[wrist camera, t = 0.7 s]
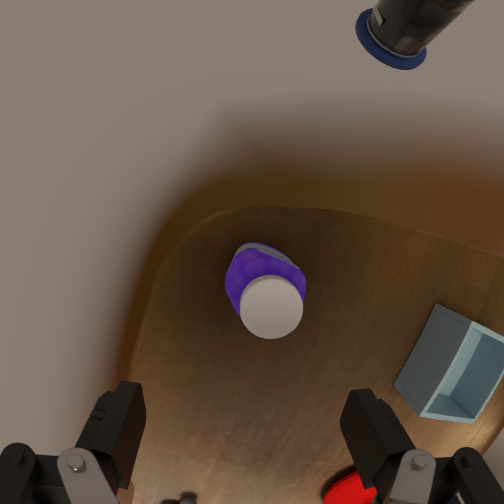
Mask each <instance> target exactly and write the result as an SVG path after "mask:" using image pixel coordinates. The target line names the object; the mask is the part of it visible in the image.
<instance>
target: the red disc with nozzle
mask: <svg viewBox="0 0 504 504" xmlns="http://www.w3.org/2000/svg"><path fill="white" fill-rule="evenodd" d="M376 492H377V491H376V489H375V487H374V488H370V489H366V490H365V489H364V487H363V484H362V482H361V479H360V476H359V474H358V471H355V472H353V473H351V474H349V475H347V476H345V477H343V478H342V479H340V480H339V481H338V482H336V483H335V484H334V485H333V486H332V487H330V488H329V489H328V491H327V493H326V494H325V496H324V501H323V504H371V502H372V499H373V497H374V495H375V493H376Z"/></svg>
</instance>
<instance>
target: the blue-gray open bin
mask: <svg viewBox="0 0 504 504" xmlns="http://www.w3.org/2000/svg"><path fill="white" fill-rule="evenodd" d="M503 374H504V337H503V336H501V335H499V334H498V333H496V332H494V331H492V330H490V329H488V328H486V327H484V326H482V325H480V324H478V323H476V322H474V321H472V320H470V319H468V318H466V317H464V316H462V315H460V314H458V313H456V312H453V311H451V310H449V309H447V308H445V307H443V306H441V305H439V304H435V306H434V308H433V310H432V312H431V315H430V317H429V319H428V321H427V323H426V325H425V327H424V329H423V331H422V333H421V335H420V337H419V339H418V341H417V343H416V345H415V347H414V349H413V351H412V353H411V354H410V356H409V358H408V360H407V362H406V363H405V365H404V367H403V369H402V371H401V372H400V374H399V376H398V377H397V379H396V381H395V382H394V384H393V385H394V387H395V388H396V389H397V390H398V391H399V393H400V394H401V395H402V396H403V397H404V399H405V400H406V401H407V402H408V403H409V405H410V406H411V407H412V408H413V410H414V411H415V412H416V413H417V414H418V416H420V417H426V418H433V419H440V420H447V421H455V422H463V423H473V424H474V422H475V421H476V419H477V418H478V416H479V415H480V413H481V412H482V410H483V409H484V407H485V405H486V404H487V402H488V401H489V399H490V397H491V396H492V394H493V392H494V391H495V389H496V387H497V385H498V384H499V382H500V380H501V378H502V376H503Z"/></svg>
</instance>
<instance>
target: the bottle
mask: <svg viewBox="0 0 504 504" xmlns="http://www.w3.org/2000/svg"><path fill="white" fill-rule="evenodd" d="M225 289H226V293H227V295H228V297H229V298H230V299H231V302H232V305H233V308H234V310H235V311H236V312H237V314H238V315H239V316H240V317H241V319H242V321H243V323H244V325H245V326H246V328H247V329H248V330H249V331H250V332H252V333H253V334H255V335H256V336H259V337H261V338H266V339H275V338H280V337H283V336H285V335H287V334H289V333H290V332H292V331H293V330H294V329H295V328H296V326H297V325H298V324H299V322H300V320H301V317H302V314H303V303H304V297H305V289H306V280H305V276H304V274H303V273H302V271H301V270H300V268H298V267H297V266H296V265H294V264H293V263H292V262H291V260H290V259H289V258H288V257H287V256H286V255H285V254H283V253H282V252H280V251H279V250H277V249H275V248H273V247H271V246H268V245H265V244H262V243H258V242H248V243H245V244H243V245H242V246H241V247H239V248H238V250H237V251H236V253H235V254H234V257H233V259H232V262H231V263H230V266H229V268H228V270H227V273H226V278H225Z"/></svg>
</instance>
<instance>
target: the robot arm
mask: <svg viewBox="0 0 504 504" xmlns="http://www.w3.org/2000/svg"><path fill="white" fill-rule="evenodd" d="M473 1H474V0H379V2H378V3H377V5H375V6H374V8H373V11H372V13H371V14H370V15H369V17H368V19H367V21H366V30H367V33H368V35H369V37H370V38H371V39H372V41H373V42H374V43H375V44H376V45H377V46H378V47H379V48H380V49H382V50H383V51H384V52H386V53H388V54H389V55H391V56H394V57H396V58H399V59H406V60H408V59H413V58H415V57H416V56H417V55H419V54H420V52H421V51H422V50H423V49H424V48H425V47H426V46H427V45H428V44H429V43H430V42H431V41H432V40H433V39H434V38H435V37H436V36H437V35H438V34H439V33H441V32H442V31H443V30H444V29H445V28H446V27H447V26H448V25H449V24H450V23H451V22H452V21H453V20H454V19H455V18H456V17H457V16H458V15H460V14H461V13H462V12H463V11H464V10H465V9H466V8H467V7H468V6H469V5H470V4H471V3H472V2H473ZM145 424H146V408H145V403H144V397H143V391H142V386H141V384H140V383H134V382H128V381H120V383H119V385H118V387H117V389H116V392H111V391H107V392H106V393H104V394H103V395H102V396H101V397H100V398H99V399H98V400H97V402H96V405H95V407H94V410H92V413H91V414H90V418H88V420H87V422H86V425H85V427H84V429H83V431H82V433H81V435H80V437H79V439H78V441H77V443H76V445H75V447H74V448H70V449H67V450H65V451H63V452H62V453H61V454H60V455H59V456H49V455H37V454H35V453H34V452H33V450H32V449H31V448H30V447H29V446H28V445H26V444H23V443H12V444H10V445H8V446H7V447H5V448H4V450H3V451H2V453H1V455H0V504H120V503H119V501H118V499H117V498H116V495H117V491H118V488H122V489H128V487H129V483H130V479H131V475H132V471H133V467H134V464H135V460H136V456H137V452H138V449H139V445H140V442H141V438H142V435H143V431H144V428H145ZM340 428H341V431H342V434H343V436H344V439H345V441H346V444H347V446H348V449H349V451H350V454H351V456H352V459H353V461H354V464H355V466H356V469H357V471H358V474H359V476H360V479H361V482H362V484H363V487H364V489H365V490H366V489H370V488H374V487H375V489H376V491H377V492H376V493H375V495H374V497H373V499H372V502H371V504H461V503H460V501H459V499H458V497H457V495H456V494H457V493H458V492H459V493H460V495H461V497H462V499H463V501H464V503H465V504H504V491H503V490H502V488H501V487H500V485H499V483H498V481H497V480H496V478H495V477H494V475H493V473H492V472H491V470H490V469H489V467H488V466H487V464H486V462H485V461H484V459H483V458H482V456H481V455H480V453H479V452H478V451H476V450H475V449H473V448H470V447H463V448H460V449H458V450H457V451H456V452H455V454H454V455H453V456H452V457H443V458H434V457H433V456H432V455H431V454H430V453H429V452H427V451H425V450H422V449H416V447H415V446H414V444H413V442H412V441H411V439H410V438H409V436H408V434H407V433H406V431H405V429H404V428H403V426H402V424H400V421H399V420H398V418H397V416H395V413H394V411H393V410H392V408H391V407H390V406H389V405H388V404H387V403H386V402H384V401H383V400H382V399H377V398H376V397H375V395H374V393H373V392H372V390H371V389H369V388H367V389H358V390H351V391H350V393H349V395H348V398H347V401H346V404H345V406H344V409H343V412H342V414H341V418H340Z"/></svg>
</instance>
